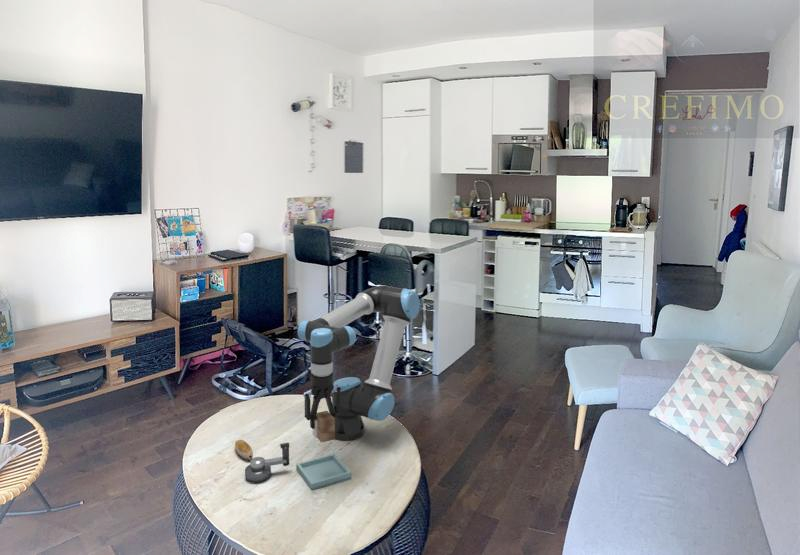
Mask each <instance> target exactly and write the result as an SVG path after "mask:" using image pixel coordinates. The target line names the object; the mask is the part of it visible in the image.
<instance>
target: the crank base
mask: <svg viewBox="0 0 800 555" xmlns="http://www.w3.org/2000/svg"><path fill="white" fill-rule="evenodd" d="M271 477H272V467H271V466H266V467H265V469H264V470H262V471H260V472H253V471H251V464H248V465H247V466H246V467H245V469H244V478H245V481H246V482H247V483H250V484H253V485H254V484H263V483H265V482H267V481H269V479H271Z"/></svg>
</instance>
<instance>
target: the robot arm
mask: <svg viewBox="0 0 800 555" xmlns="http://www.w3.org/2000/svg"><path fill="white" fill-rule="evenodd" d="M420 302H421V301H420V298H419V295H418V294H417V292H416V291H414V290H412V289H408V288H404V287H397V286H391V285H386V284H385V285H384V284H383V285H382V284H381V285H376V286H373V287H370V288H367V289H366V290H363V291H362V292H359V293H358V294H357V295H356V296H355V298H354V299H352V300H350V301H348V302H346V303H345V304H343V305H340V306H338V307H337V308H335V309H334V310H331V311H330V312H328V313H326V314H325V315H323V316H321V317H319V318H316V319H315V320H313V321H311V320H302V321H301V322H300V323H299V325H298V327H297V336H298V338H299V339H300V340H302V341H305V342H307V343H309V344H310V383H311V384H310V388H309V390H307V391H303V393H302V395H303V397H304V417H305V418H306V420H307V421H309V427H310V428H311V429H312V436H313V437H314V438H315V439H318V438H317V437H318V435H317V420H316V419H315V418H316V414H317V413H318V408H319V404H320V402H321V400H322V399H325V402H326V405H327V406H326V407H327V409H328V410H327V411H328V412H329V413H330V414H331V415H332V416H333V417H334V418H335V439H334V440H338V441H353V440H358V439H359V438H361V437H362V436H363V435H364V434H365V429H366V428H365V424H364V421H363V418H362V417H365V418H367V419H369V420H374V421H376V422H377V421H378V422H382V421H384V420H386V419H387V418H388V417H389V416H390V415H391V413H392V412H393V409H394V407H395V395H393V393H392V392H393V388H392V386H391V380H392V377H393V374H394V368H395V366H396V362H397V359H398V354H399V350H400V347H401V344H402V340H403V336H404V333H405V328H406V327H407V326H408V325H410V324H411V321H412V320H415V319H416V318H417V316H418V315H419V313H420V307H421V304H420ZM372 313H382V318H383V320H384V324H383V328H382V331H381V335H380V338H379V341H378V344H377V345H378V346H377V349H376V353H375V356H374V360H373V364H372V367H371V370H370V371H371V372H370V375H369V378H368V379H366V380H365V381H364V382H363V384H362V381H361V379H360V378H359V377H356V376H355V377H353V376H348V377H343V378H338V379H336V380H335V381H333V380H334V374H333V372H334V370H333V369H334V368H333V367H334V366H333V365H334V363H333V362H334V361H333V360H334V359H333V355H334V354H335V353H337V352H340V351H342V350H345V349H348V348H350V347H351V346H352V345H354V344H355V343H356V341H357V340H356V338H357V335H356V332H355V329H353V328H352V327H351V326H349V324H350V323H353V322H354V321H356V320H357V319H359V318H360V317H362V316H364V315H365V316H366V315H368V316H369V315H370V314H372ZM312 395H313V398H312ZM311 398H312V400H313V401H312V404H311Z"/></svg>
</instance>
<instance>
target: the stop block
mask: <svg viewBox="0 0 800 555" xmlns="http://www.w3.org/2000/svg"><path fill="white" fill-rule="evenodd" d="M315 419H316V420H317V435H318V437H317V438H316V439H318V441H320V443H326V442H330V441H334V440H336V439H335V418H334V417H333V416H332V415H331V414H330V413H329V410H322V411H317V414H316V418H315Z"/></svg>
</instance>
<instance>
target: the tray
mask: <svg viewBox="0 0 800 555" xmlns="http://www.w3.org/2000/svg"><path fill="white" fill-rule="evenodd" d="M295 466H296V468H295V470H296V471H297V474H299V476H300V477H301V478H302V480H303V481H304V483H305V484H306V485H307V486H308V488H309V489H310V490H311V491H315V490H318V489H321V488H325V487H328V486H331V485H332V486H333V485H335V484H338V483H342V482H344V481H349V480H352V472H351V471H350V470H349V469H348V467H347V466H346V465H345V464H344V463H343V461H341V460H340V459H339V457H338V456H336V454H335V453H331V454H328V455H327V454H326V455H324V456H319V457H316V458H312V459H308V460H305V461H301V462H298V463H296V464H295Z"/></svg>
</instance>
